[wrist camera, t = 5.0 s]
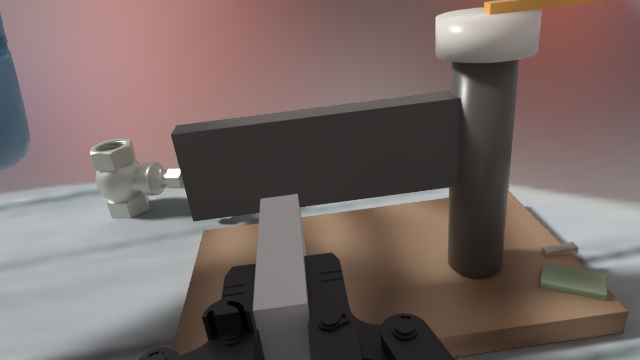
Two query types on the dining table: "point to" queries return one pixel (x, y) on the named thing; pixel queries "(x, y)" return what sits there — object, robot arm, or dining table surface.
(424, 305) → the board
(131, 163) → the valve
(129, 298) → the dining table surface
